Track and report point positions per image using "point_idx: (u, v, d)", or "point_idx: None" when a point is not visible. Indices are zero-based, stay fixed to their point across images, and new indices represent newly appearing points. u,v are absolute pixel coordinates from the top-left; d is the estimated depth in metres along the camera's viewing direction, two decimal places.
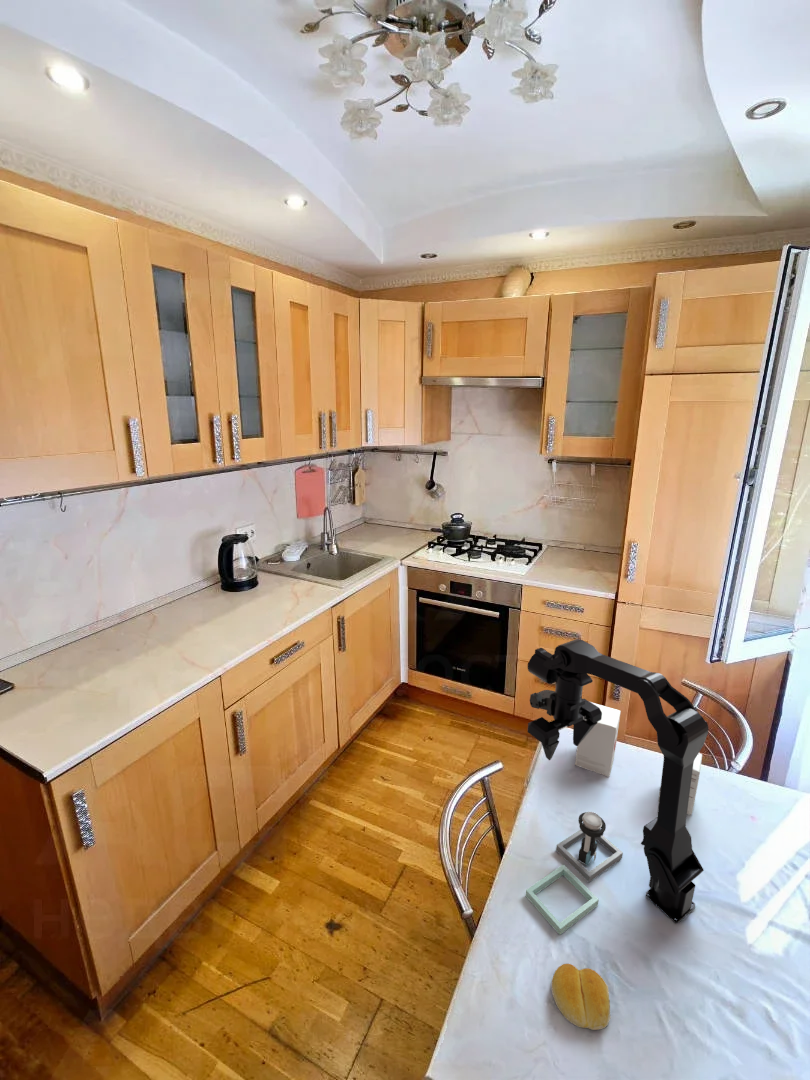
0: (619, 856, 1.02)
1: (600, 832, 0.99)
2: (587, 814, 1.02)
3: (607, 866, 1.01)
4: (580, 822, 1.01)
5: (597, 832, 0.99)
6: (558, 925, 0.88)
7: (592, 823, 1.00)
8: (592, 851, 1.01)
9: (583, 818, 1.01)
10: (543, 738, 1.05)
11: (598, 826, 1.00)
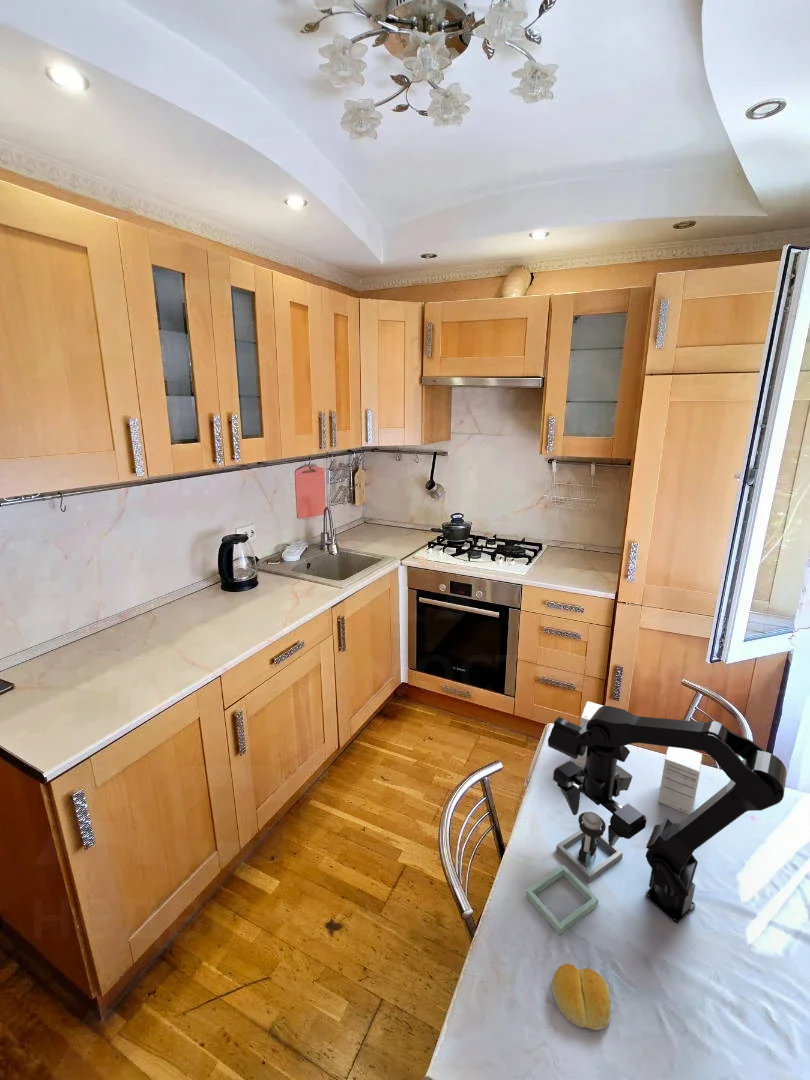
0: (619, 856, 1.02)
1: (600, 832, 0.99)
2: (587, 814, 1.02)
3: (607, 866, 1.01)
4: (580, 822, 1.01)
5: (597, 832, 0.99)
6: (558, 925, 0.88)
7: (592, 823, 1.00)
8: (592, 851, 1.01)
9: (583, 818, 1.01)
10: None
11: (598, 826, 1.00)
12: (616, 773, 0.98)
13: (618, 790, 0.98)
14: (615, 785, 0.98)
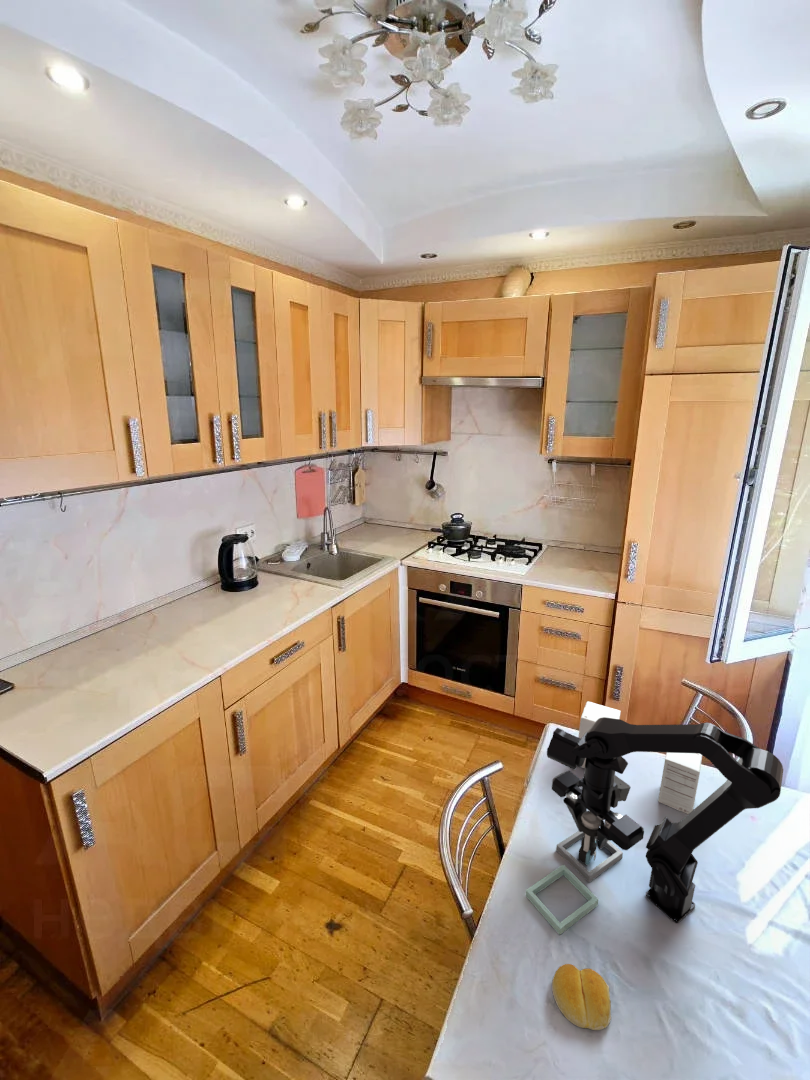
0: (619, 856, 1.02)
1: None
2: (586, 813, 1.02)
3: (607, 866, 1.01)
4: (579, 821, 1.01)
5: (596, 831, 0.99)
6: (558, 925, 0.88)
7: (591, 822, 1.00)
8: (592, 850, 1.02)
9: (582, 817, 1.02)
10: None
11: (597, 825, 1.00)
12: (614, 784, 0.99)
13: (616, 801, 0.99)
14: (613, 796, 0.99)
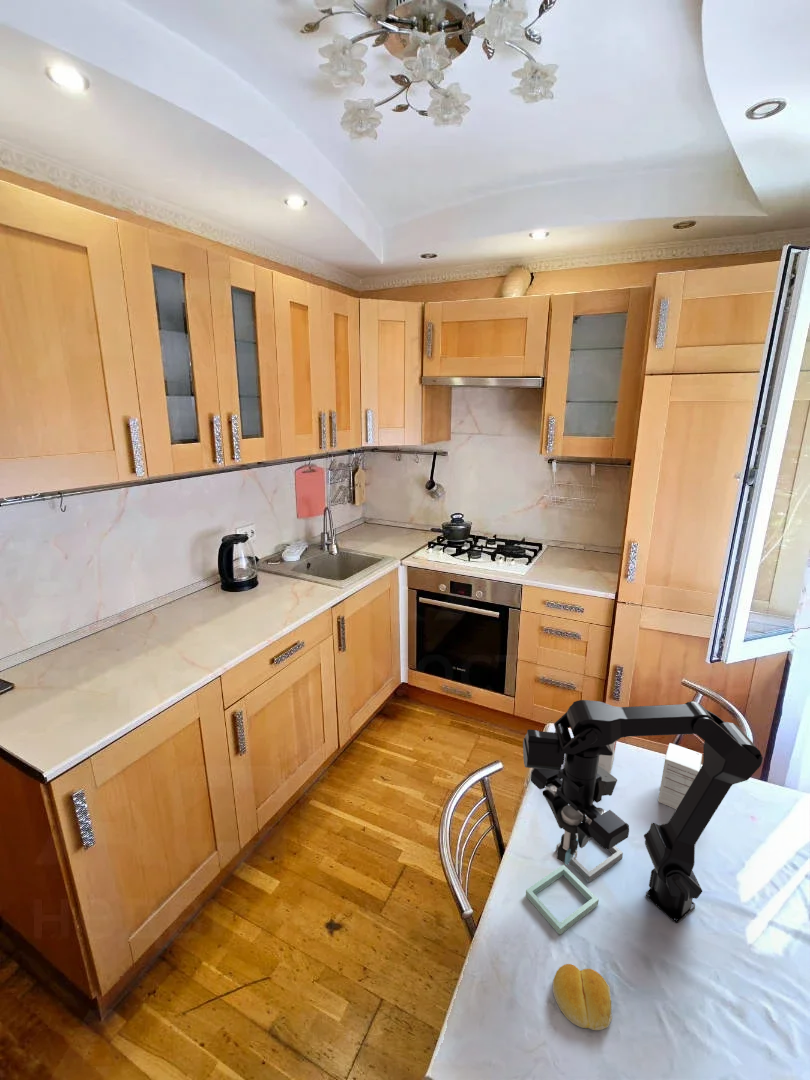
0: (619, 856, 1.02)
1: None
2: (566, 808, 0.92)
3: (607, 866, 1.01)
4: (559, 816, 0.91)
5: None
6: (558, 925, 0.88)
7: (571, 817, 0.90)
8: (572, 849, 0.91)
9: (562, 812, 0.92)
10: None
11: (578, 821, 0.90)
12: (598, 776, 0.88)
13: (600, 795, 0.89)
14: (597, 789, 0.89)
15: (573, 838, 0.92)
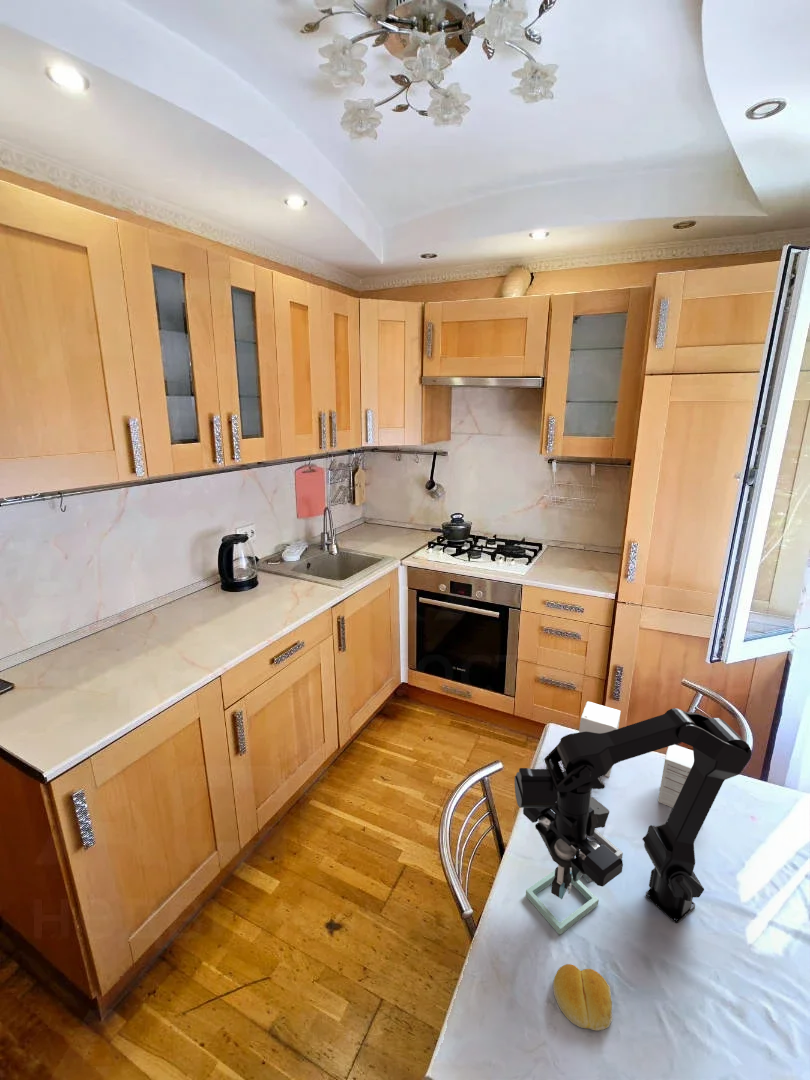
0: (619, 856, 1.02)
1: None
2: (559, 841, 0.91)
3: None
4: (552, 850, 0.91)
5: (570, 862, 0.88)
6: (558, 925, 0.88)
7: (565, 852, 0.89)
8: (566, 883, 0.91)
9: (555, 846, 0.91)
10: None
11: (571, 855, 0.89)
12: (590, 810, 0.88)
13: (593, 828, 0.88)
14: (589, 823, 0.88)
15: (567, 872, 0.91)
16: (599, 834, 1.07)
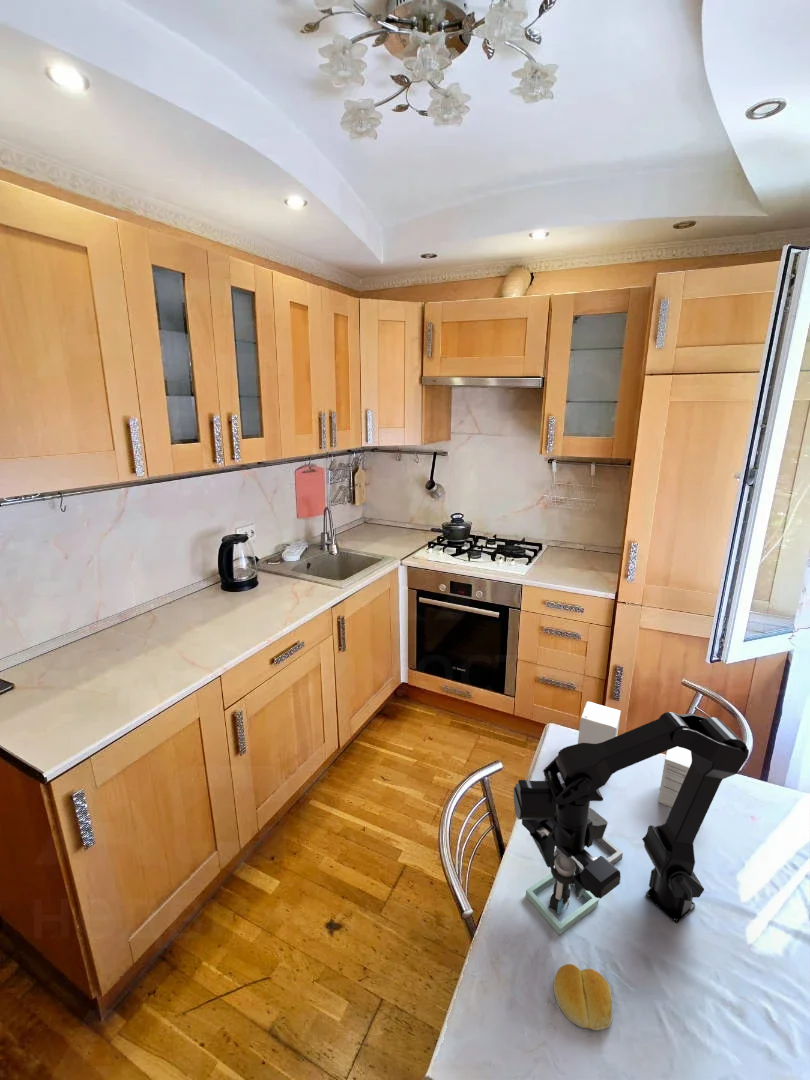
0: (619, 856, 1.02)
1: (573, 879, 0.89)
2: (559, 857, 0.92)
3: None
4: (551, 866, 0.91)
5: (570, 879, 0.89)
6: (558, 925, 0.88)
7: (564, 868, 0.90)
8: (565, 898, 0.92)
9: (555, 862, 0.92)
10: None
11: (571, 872, 0.90)
12: (589, 821, 0.89)
13: (591, 840, 0.89)
14: (587, 834, 0.89)
15: (566, 888, 0.92)
16: None
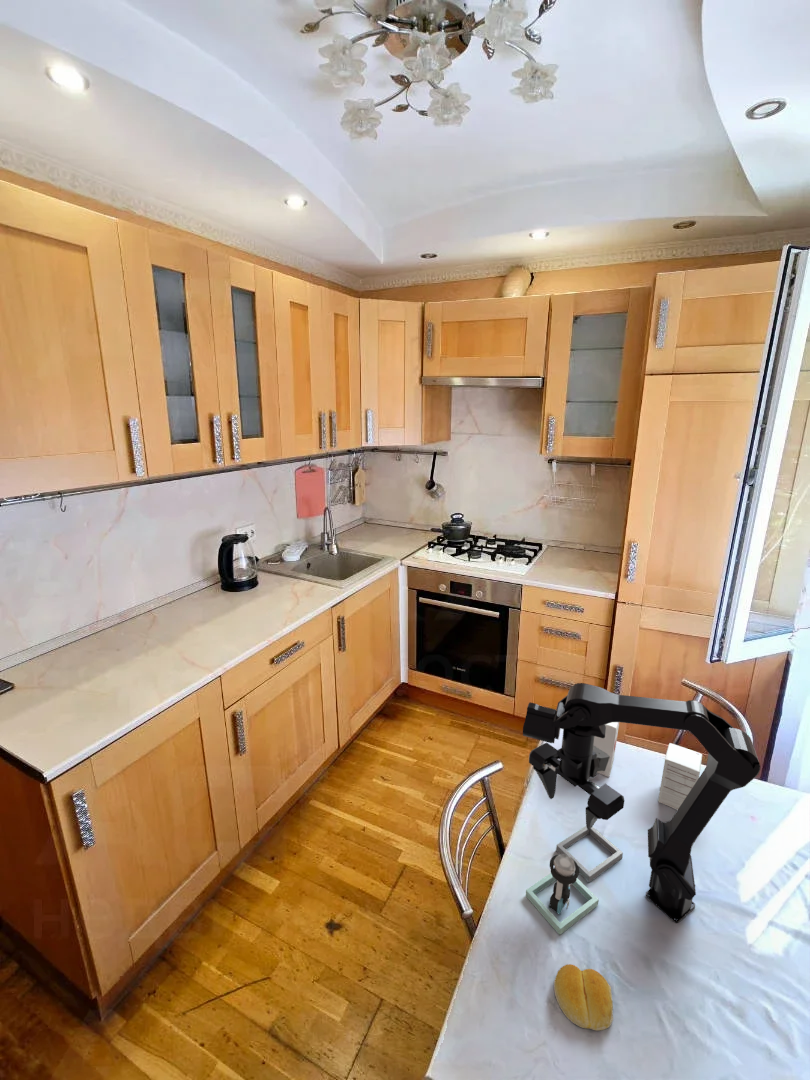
0: (619, 856, 1.02)
1: (572, 879, 0.89)
2: (559, 857, 0.92)
3: (607, 866, 1.01)
4: (551, 866, 0.92)
5: (569, 879, 0.89)
6: (558, 925, 0.88)
7: (564, 868, 0.90)
8: (564, 898, 0.92)
9: (554, 862, 0.92)
10: None
11: (570, 872, 0.90)
12: (593, 753, 0.95)
13: (595, 770, 0.95)
14: (592, 765, 0.95)
15: (565, 888, 0.92)
16: (599, 834, 1.07)
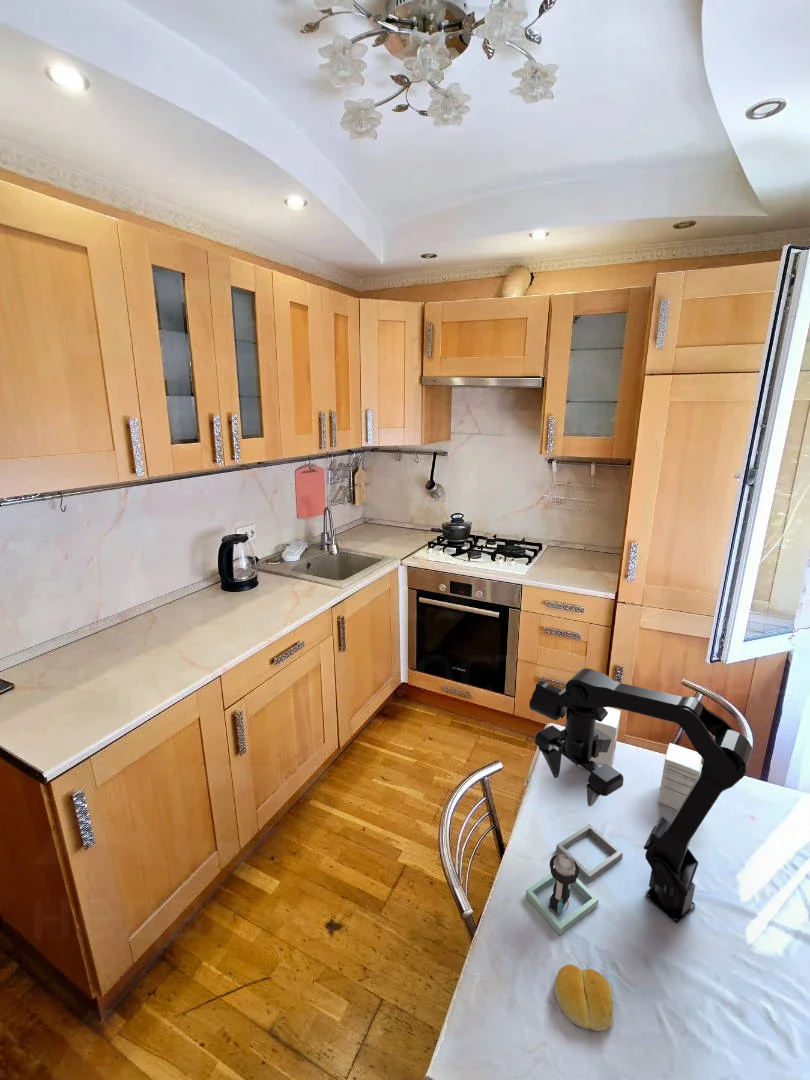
0: (619, 856, 1.02)
1: (572, 879, 0.89)
2: (559, 857, 0.92)
3: (607, 866, 1.01)
4: (551, 866, 0.92)
5: (569, 879, 0.89)
6: (558, 925, 0.88)
7: (564, 868, 0.90)
8: (564, 898, 0.92)
9: (554, 862, 0.92)
10: None
11: (570, 872, 0.90)
12: (595, 734, 1.00)
13: (597, 751, 1.00)
14: (594, 746, 1.00)
15: (565, 888, 0.92)
16: (599, 834, 1.07)
